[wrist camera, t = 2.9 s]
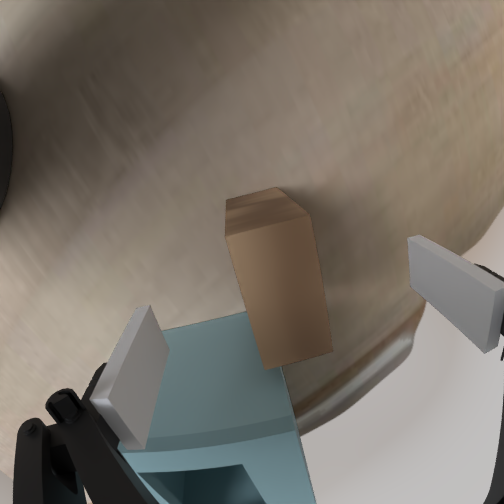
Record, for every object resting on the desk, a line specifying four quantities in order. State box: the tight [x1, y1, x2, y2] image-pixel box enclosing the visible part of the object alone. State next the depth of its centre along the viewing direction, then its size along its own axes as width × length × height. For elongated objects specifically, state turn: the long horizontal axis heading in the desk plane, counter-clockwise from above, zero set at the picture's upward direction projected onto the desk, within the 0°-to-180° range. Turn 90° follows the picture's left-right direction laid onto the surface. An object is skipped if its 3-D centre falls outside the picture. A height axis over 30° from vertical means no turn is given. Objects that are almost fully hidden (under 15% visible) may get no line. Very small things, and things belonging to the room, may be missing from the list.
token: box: [225, 187, 333, 370], centre depth 18 cm, size 4×7×9 cm, turn 14°
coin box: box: [117, 312, 316, 504], centre depth 20 cm, size 12×14×12 cm
